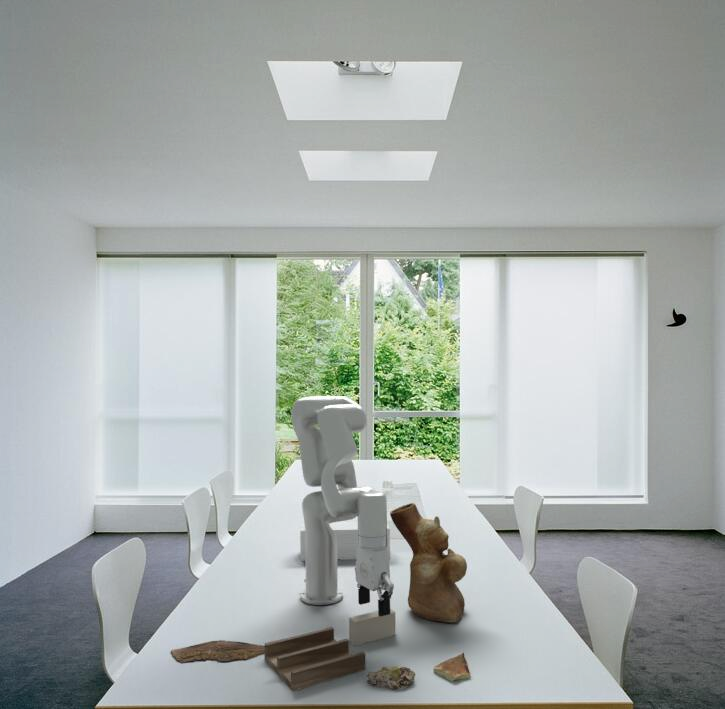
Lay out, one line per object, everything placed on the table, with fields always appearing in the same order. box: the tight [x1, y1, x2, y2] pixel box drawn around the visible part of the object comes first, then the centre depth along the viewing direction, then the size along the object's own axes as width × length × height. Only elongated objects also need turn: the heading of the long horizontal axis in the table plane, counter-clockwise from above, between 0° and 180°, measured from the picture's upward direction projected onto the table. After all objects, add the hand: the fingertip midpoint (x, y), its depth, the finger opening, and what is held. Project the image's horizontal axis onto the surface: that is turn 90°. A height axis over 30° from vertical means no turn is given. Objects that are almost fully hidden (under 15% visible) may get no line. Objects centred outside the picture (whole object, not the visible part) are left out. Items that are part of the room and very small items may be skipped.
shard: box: [433, 652, 472, 682], centre depth 143 cm, size 11×8×2 cm
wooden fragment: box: [170, 639, 265, 664], centre depth 153 cm, size 26×11×1 cm, turn 92°
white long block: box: [299, 521, 391, 562], centre depth 229 cm, size 32×11×11 cm, turn 94°
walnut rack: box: [264, 626, 366, 691], centre depth 146 cm, size 17×18×4 cm
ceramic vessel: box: [389, 502, 468, 623], centre depth 177 cm, size 16×22×30 cm
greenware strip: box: [348, 608, 396, 647], centre depth 160 cm, size 3×12×6 cm, turn 120°
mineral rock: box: [366, 665, 416, 691], centre depth 139 cm, size 11×4×8 cm
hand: (374, 609), depth 160 cm, fingers open, 9 cm apart
